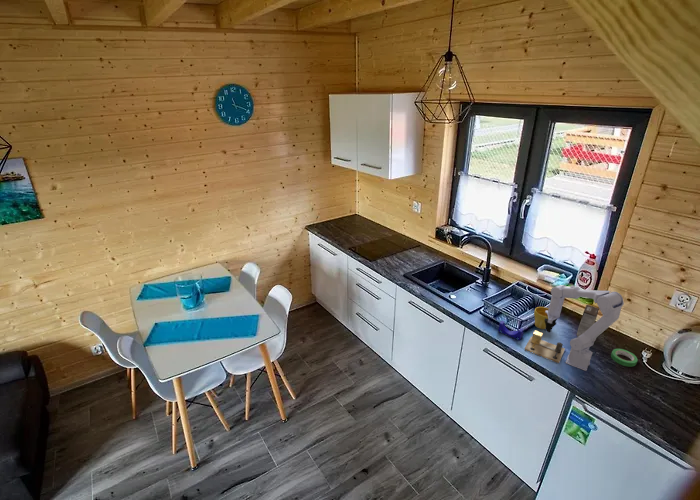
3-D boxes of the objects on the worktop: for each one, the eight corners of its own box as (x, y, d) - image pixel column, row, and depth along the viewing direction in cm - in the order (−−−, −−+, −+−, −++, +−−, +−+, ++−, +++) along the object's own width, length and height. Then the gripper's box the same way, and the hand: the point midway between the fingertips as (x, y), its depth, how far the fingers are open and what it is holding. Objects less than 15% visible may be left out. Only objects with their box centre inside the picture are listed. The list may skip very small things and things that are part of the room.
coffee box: (579, 327, 227) (586, 304, 220) (592, 332, 223) (599, 308, 217) (575, 335, 221) (583, 311, 214) (588, 340, 217) (596, 315, 210)
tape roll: (633, 355, 206) (635, 351, 205) (638, 369, 197) (640, 365, 196) (609, 350, 210) (610, 346, 209) (612, 363, 201) (614, 359, 200)
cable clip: (522, 336, 220) (524, 328, 217) (519, 340, 217) (521, 331, 214) (501, 328, 227) (503, 319, 224) (498, 331, 224) (499, 322, 221)
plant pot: (552, 324, 230) (556, 310, 226) (549, 333, 222) (553, 319, 218) (533, 318, 235) (536, 304, 231) (529, 327, 227) (533, 312, 223)
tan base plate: (564, 350, 209) (567, 340, 207) (558, 363, 200) (561, 354, 197) (531, 337, 219) (533, 328, 216) (524, 349, 209) (526, 340, 207)
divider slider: (540, 342, 213) (543, 333, 210) (536, 350, 207) (538, 341, 204) (532, 339, 215) (535, 330, 212) (528, 347, 209) (530, 338, 206)
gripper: (550, 297, 213) (545, 318, 219) (543, 310, 202) (538, 331, 208) (565, 302, 209) (559, 323, 215) (558, 314, 199) (552, 336, 204)
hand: (549, 327), depth 211 cm, fingers open, 7 cm apart
